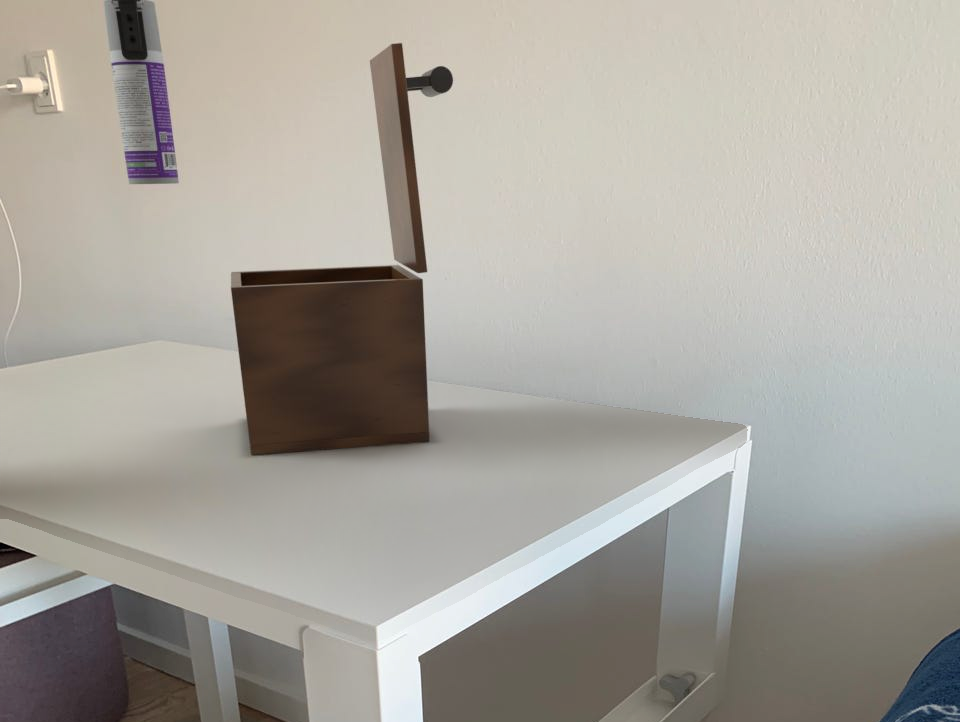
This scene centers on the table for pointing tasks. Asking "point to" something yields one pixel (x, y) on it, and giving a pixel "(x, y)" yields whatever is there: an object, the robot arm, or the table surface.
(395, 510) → the table surface
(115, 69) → the container
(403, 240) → the lid
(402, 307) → the chest
